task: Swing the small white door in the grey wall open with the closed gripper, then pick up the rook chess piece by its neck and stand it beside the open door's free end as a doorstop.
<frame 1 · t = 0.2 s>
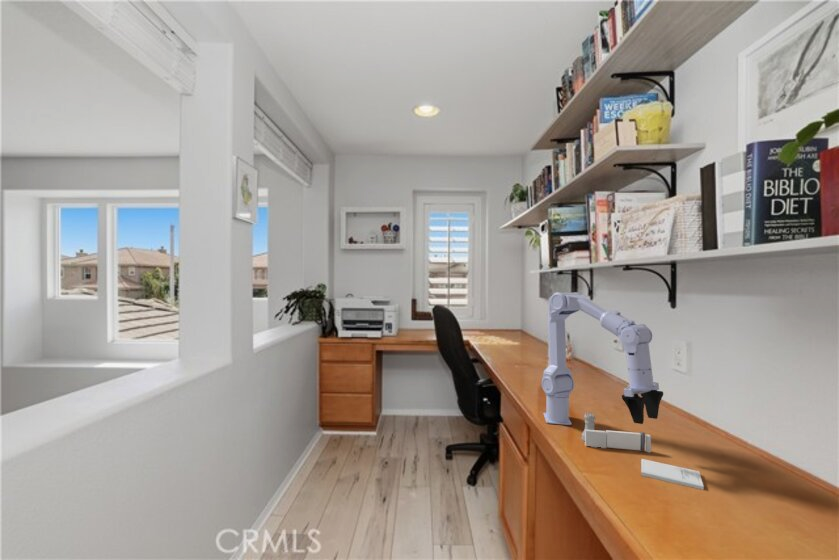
hand: (645, 420, 103), 10 cm above the table, tool pointing down, fingers open, 7 cm apart
wall: (642, 450, 107), on the table
rook chess piece: (589, 441, 114), on the table
external hard drive: (670, 478, 94), on the table
door: (625, 439, 108), point 3 cm above the table, hinge at 0.0°
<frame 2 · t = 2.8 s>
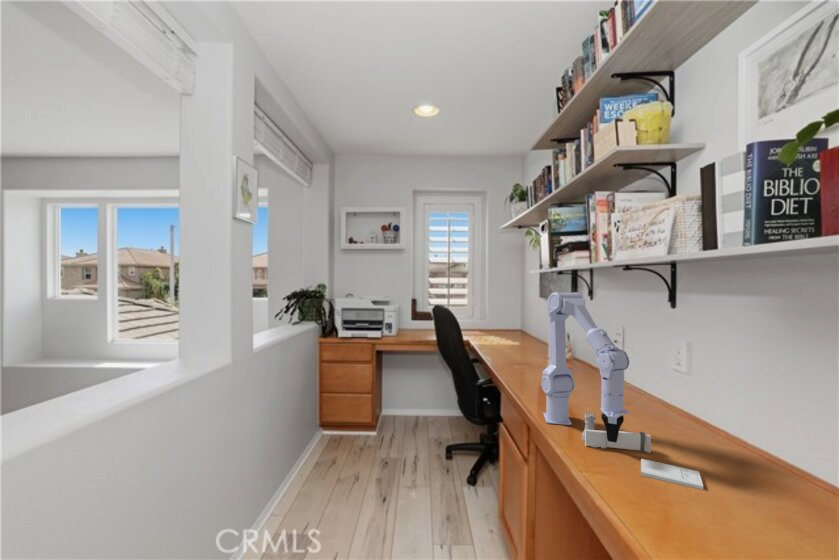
hand: (612, 441, 108), 2 cm above the table, tool pointing down, fingers closed
door: (625, 439, 108), point 3 cm above the table, hinge at 1.2°, touching gripper
everything else where it was.
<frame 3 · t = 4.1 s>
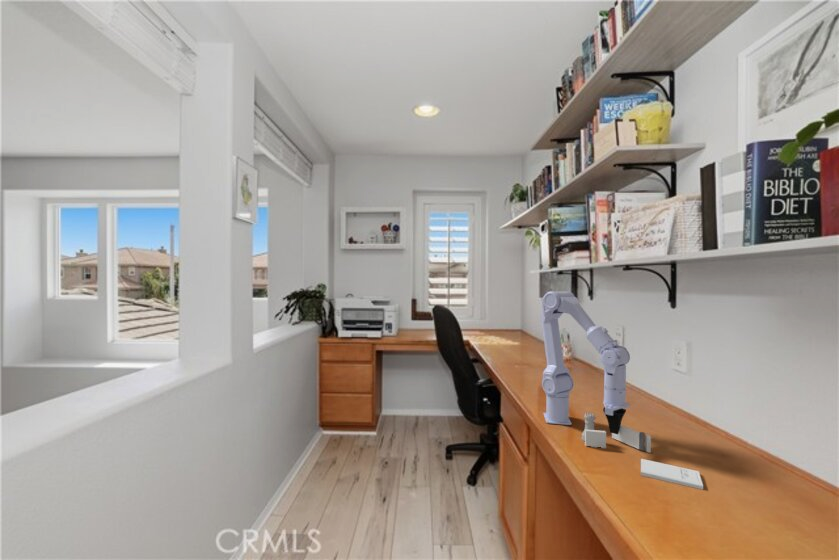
hand: (614, 433, 113), 3 cm above the table, tool pointing down, fingers closed
door: (628, 435, 111), point 3 cm above the table, hinge at 53.2°, touching gripper
everything else where it was.
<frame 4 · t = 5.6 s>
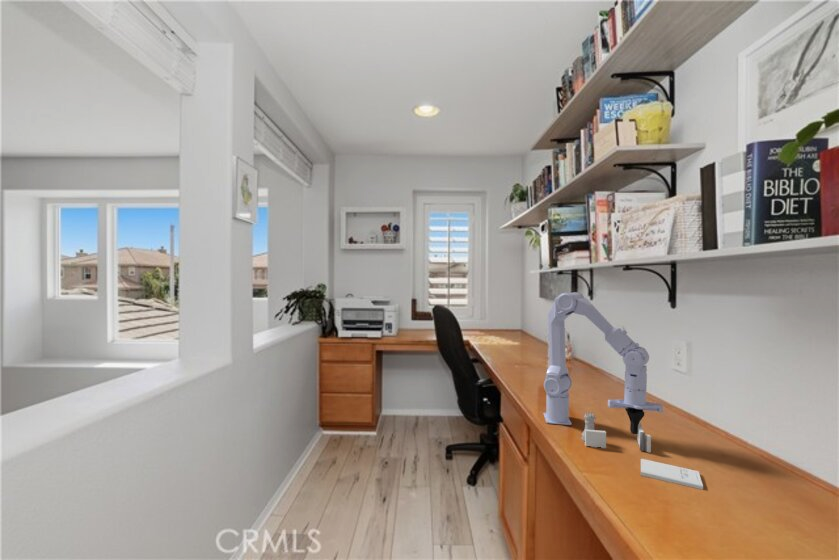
hand: (633, 433, 114), 2 cm above the table, tool pointing down, fingers closed
door: (640, 435, 111), point 3 cm above the table, hinge at 102.9°, touching gripper
everything else where it was.
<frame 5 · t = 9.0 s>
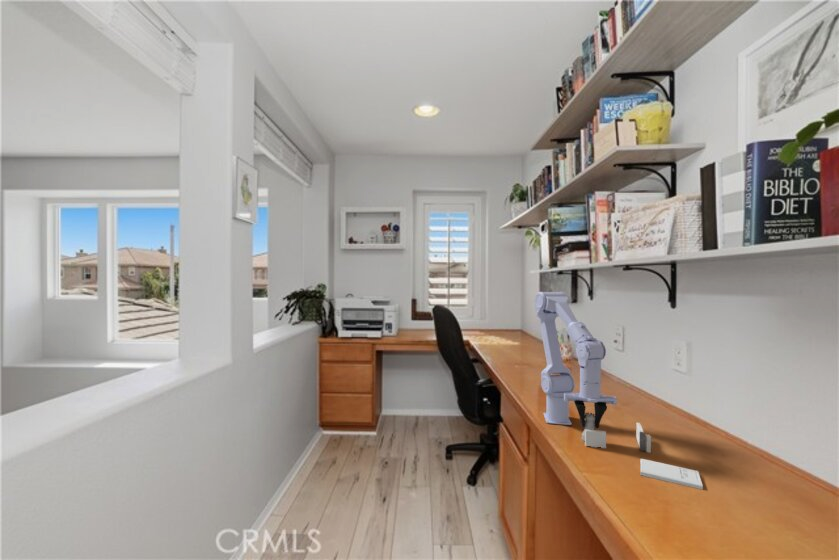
hand: (589, 426, 114), 4 cm above the table, tool pointing down, fingers closed on rook chess piece, 3 cm apart
rook chess piece: (589, 441, 114), on the table, touching gripper
door: (640, 435, 111), point 3 cm above the table, hinge at 102.0°
everything else where it was.
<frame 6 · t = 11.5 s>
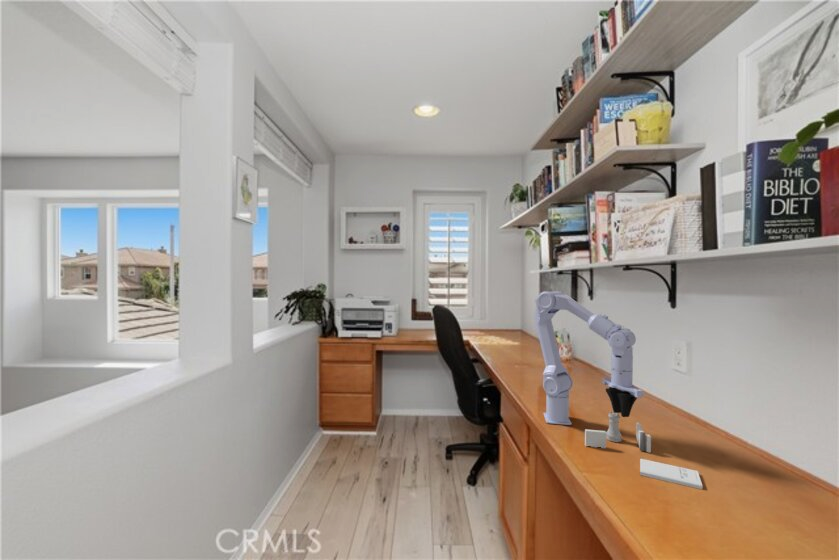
hand: (621, 414, 115), 8 cm above the table, tool pointing down, fingers open, 3 cm apart
rook chess piece: (613, 440, 115), on the table, touching gripper
everything else where it was.
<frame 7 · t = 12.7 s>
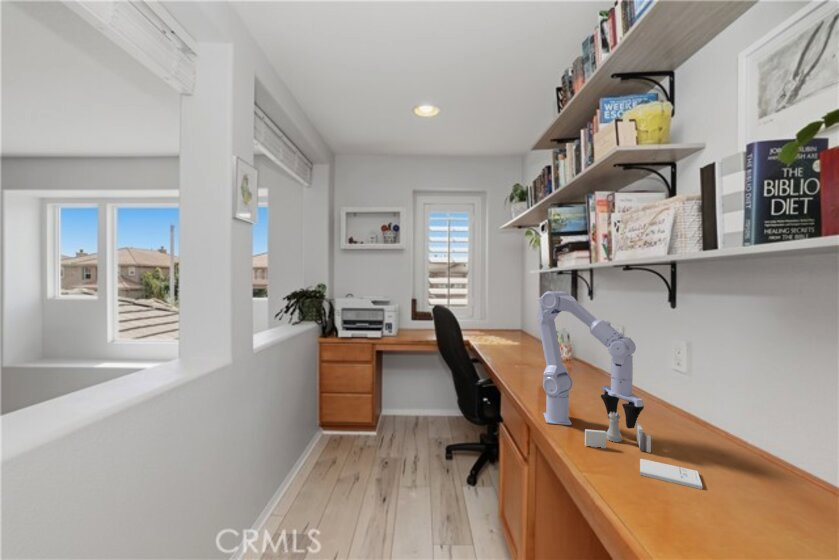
hand: (621, 422, 115), 5 cm above the table, tool pointing down, fingers open, 7 cm apart
rook chess piece: (613, 440, 115), on the table
everything else where it was.
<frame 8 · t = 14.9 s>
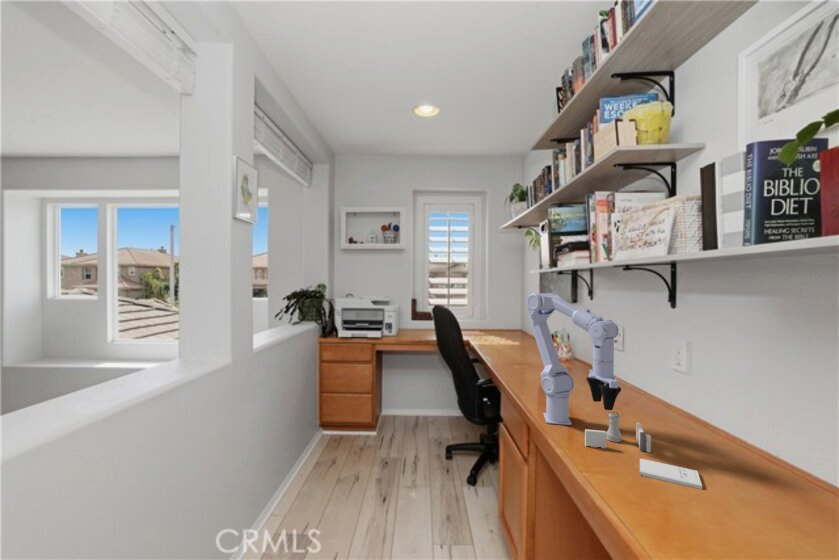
hand: (602, 405, 115), 10 cm above the table, tool pointing down, fingers open, 7 cm apart
nothing on the table moved.
at the end: door at +102° (first picture: +0°); rook chess piece 2.2 cm from the target spot, on the table; rook chess piece tilted 0° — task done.
